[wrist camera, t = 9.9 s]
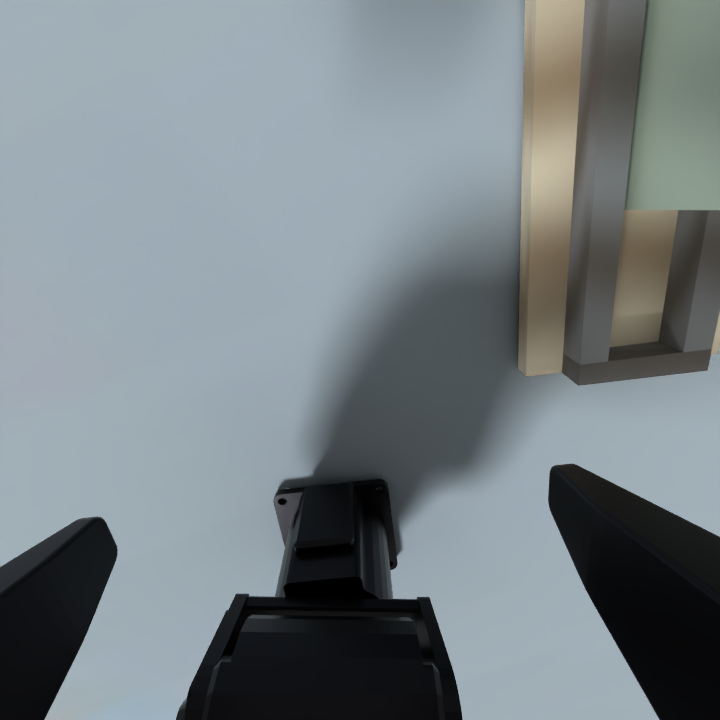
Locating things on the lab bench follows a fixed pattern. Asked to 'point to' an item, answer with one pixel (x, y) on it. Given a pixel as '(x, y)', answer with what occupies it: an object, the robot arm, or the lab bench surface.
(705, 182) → the door panel
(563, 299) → the track
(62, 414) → the lab bench surface
